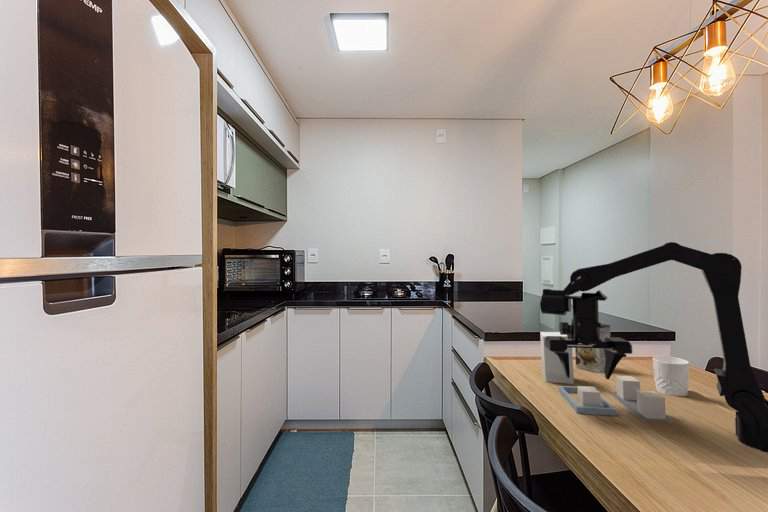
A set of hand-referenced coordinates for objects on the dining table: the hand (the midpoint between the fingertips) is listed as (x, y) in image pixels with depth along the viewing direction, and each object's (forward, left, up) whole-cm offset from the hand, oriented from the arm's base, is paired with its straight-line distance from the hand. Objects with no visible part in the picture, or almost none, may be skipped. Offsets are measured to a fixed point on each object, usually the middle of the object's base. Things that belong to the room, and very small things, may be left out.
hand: (587, 378), depth 88 cm
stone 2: (+8, -13, -7) cm, 17 cm away
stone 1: (0, 0, -8) cm, 8 cm away
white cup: (+14, -26, -9) cm, 31 cm away
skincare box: (+20, +2, -9) cm, 22 cm away
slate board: (+2, -13, -8) cm, 15 cm away
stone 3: (-3, -13, -7) cm, 15 cm away
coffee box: (+36, -14, -9) cm, 40 cm away
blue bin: (+3, 0, -8) cm, 9 cm away
